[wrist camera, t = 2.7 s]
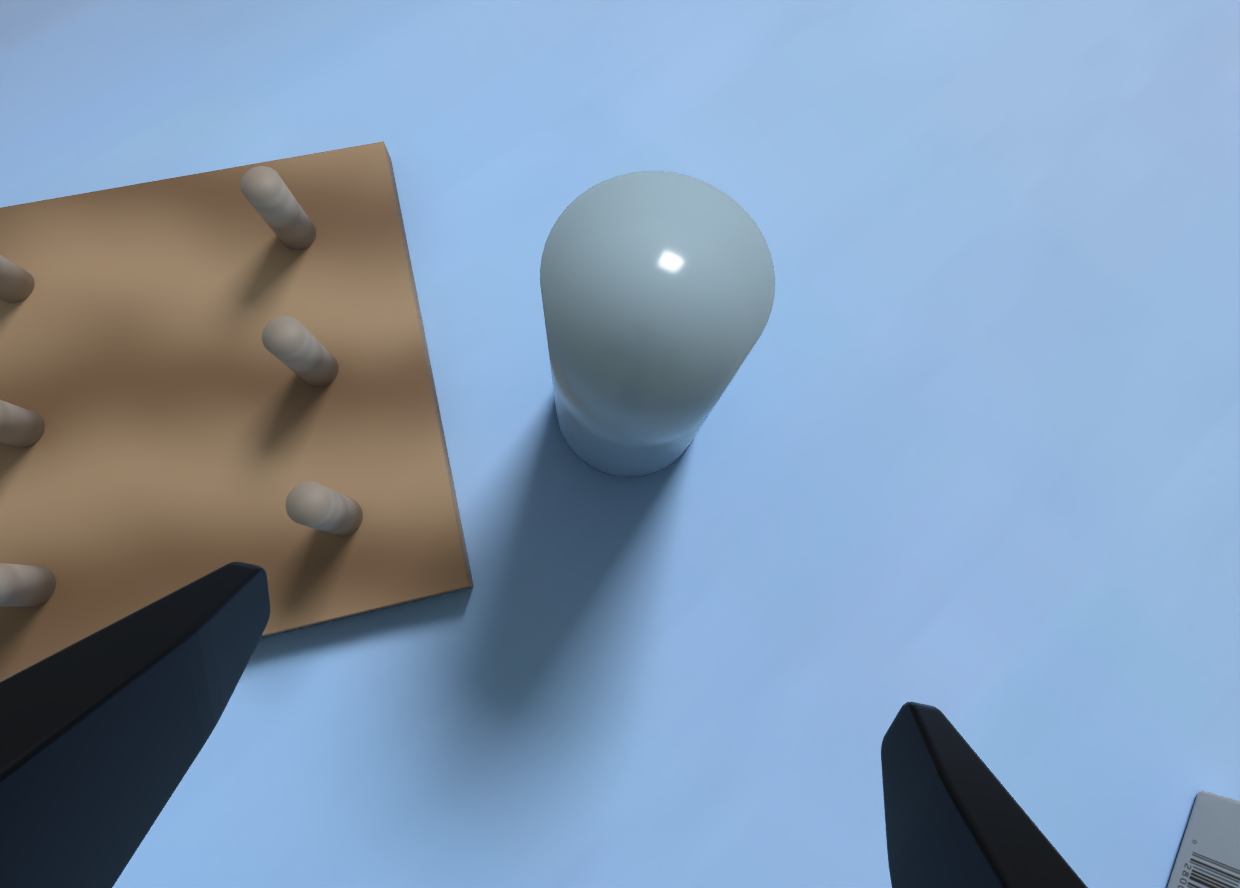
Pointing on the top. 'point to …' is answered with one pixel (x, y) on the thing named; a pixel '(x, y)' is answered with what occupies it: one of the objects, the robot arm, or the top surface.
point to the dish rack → (217, 401)
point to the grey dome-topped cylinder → (649, 314)
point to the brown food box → (1210, 845)
